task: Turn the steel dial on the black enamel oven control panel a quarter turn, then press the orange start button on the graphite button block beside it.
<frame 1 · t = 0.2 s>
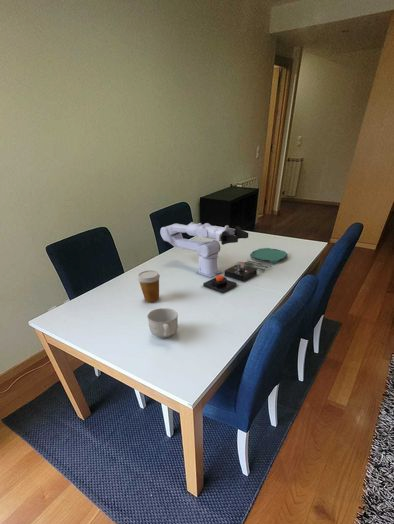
hand: (242, 237, 127), 21 cm above the table, tool horizontal, fingers open, 7 cm apart
teacup: (165, 335, 108), on the table
cutlery set: (264, 260, 161), on the table
button housing: (219, 286, 138), on the table
dial panel: (240, 275, 147), on the table
oven dial: (240, 266, 144), point 5 cm above the table, hinge at 0.0°
start button: (219, 278, 136), point 4 cm above the table, slide at 0.2 cm
disposable coffee cup: (152, 300, 131), on the table
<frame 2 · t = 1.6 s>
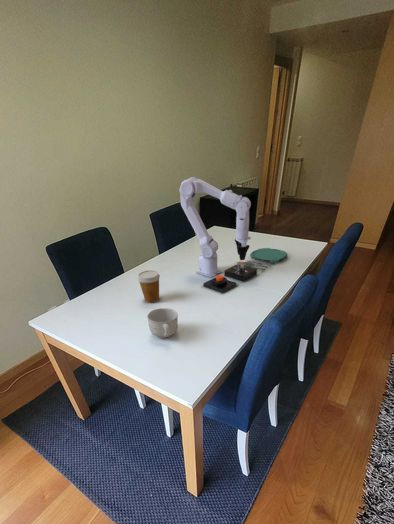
hand: (241, 257, 141), 9 cm above the table, tool pointing down, fingers open, 7 cm apart
nothing on the table moved.
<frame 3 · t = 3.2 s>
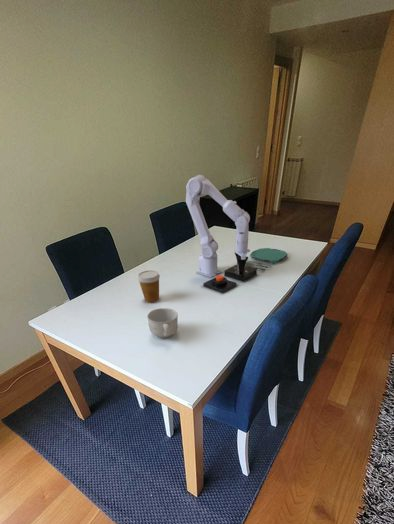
hand: (240, 268, 145), 4 cm above the table, tool pointing down, fingers closed on oven dial, 4 cm apart
oven dial: (240, 266, 144), point 5 cm above the table, hinge at 0.0°, touching gripper
everything else where it was.
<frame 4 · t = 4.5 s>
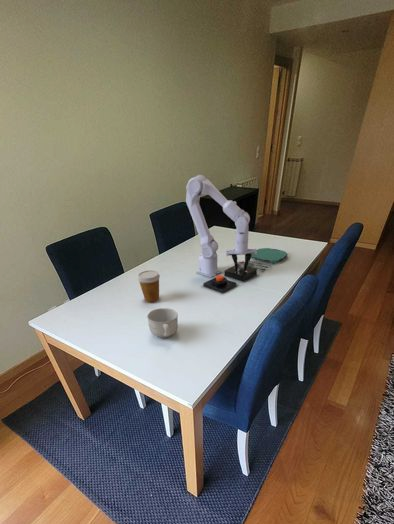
hand: (240, 269, 145), 3 cm above the table, tool pointing down, fingers closed on oven dial, 4 cm apart
oven dial: (240, 266, 144), point 5 cm above the table, hinge at 89.9°, touching gripper
everything else where it was.
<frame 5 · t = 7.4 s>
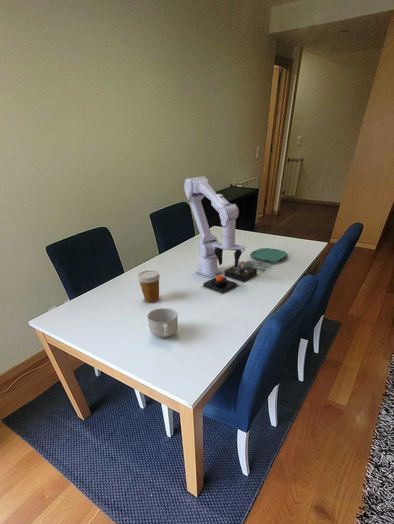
hand: (228, 265, 137), 8 cm above the table, tool pointing down, fingers open, 7 cm apart
oven dial: (240, 266, 144), point 5 cm above the table, hinge at 89.8°
everything else where it was.
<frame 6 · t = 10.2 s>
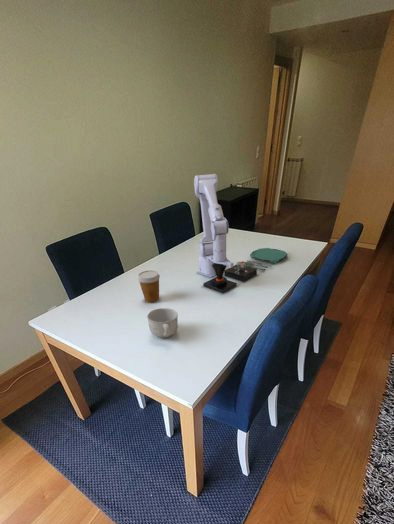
hand: (219, 278, 136), 4 cm above the table, tool pointing down, fingers closed, pressing on start button
start button: (219, 280, 136), point 3 cm above the table, slide at -0.9 cm, touching gripper
everything else where it was.
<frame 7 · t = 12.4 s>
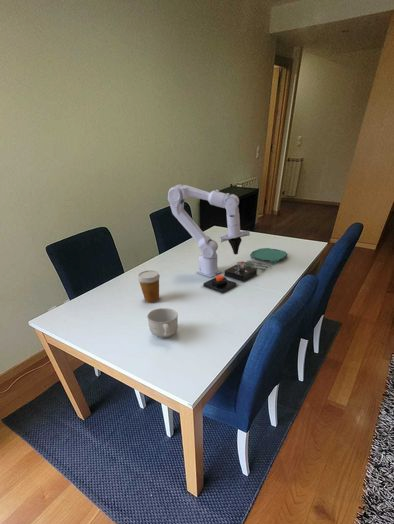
hand: (235, 253, 142), 11 cm above the table, tool pointing down, fingers closed
start button: (219, 278, 136), point 4 cm above the table, slide at 0.2 cm
everything else where it was.
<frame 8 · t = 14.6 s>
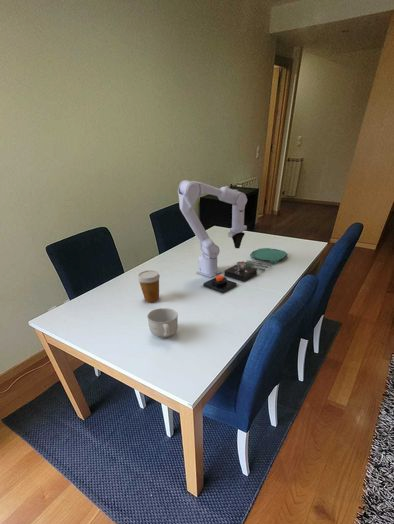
hand: (237, 247, 149), 10 cm above the table, tool pointing down, fingers closed
nothing on the table moved.
at the end: oven dial at +90° (first picture: +0°); start button pushed in 1.2 cm at the most during the clip, back to 0.2 cm at the end; start button slide at 0.2 cm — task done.
